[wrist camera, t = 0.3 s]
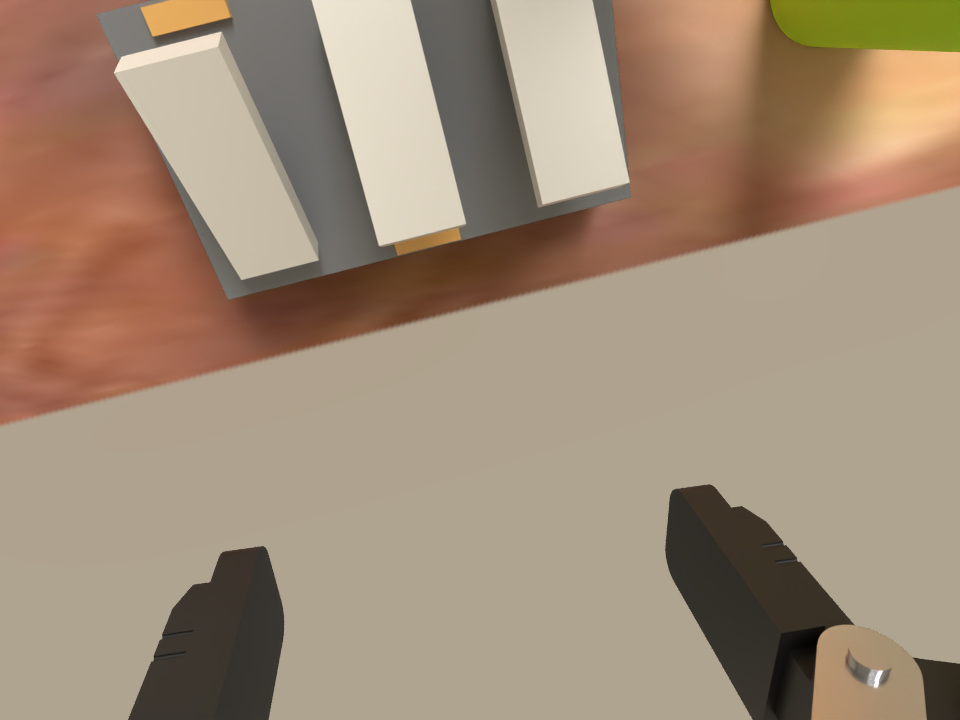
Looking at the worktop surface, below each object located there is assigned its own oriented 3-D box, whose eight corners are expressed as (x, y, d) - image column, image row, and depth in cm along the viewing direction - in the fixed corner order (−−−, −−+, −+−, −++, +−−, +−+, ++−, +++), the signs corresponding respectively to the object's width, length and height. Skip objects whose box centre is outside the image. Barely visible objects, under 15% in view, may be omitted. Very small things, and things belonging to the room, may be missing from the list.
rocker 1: (221, 31, 19) (218, 46, 18) (317, 242, 25) (318, 260, 25) (121, 56, 19) (113, 72, 18) (243, 261, 25) (241, 279, 25)
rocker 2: (406, -10, 22) (404, -26, 20) (465, 226, 23) (466, 223, 22) (318, 12, 22) (310, -3, 20) (382, 247, 23) (378, 245, 22)
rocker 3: (571, -52, 22) (578, -70, 20) (620, 186, 23) (629, 182, 22) (483, -29, 22) (485, -47, 20) (537, 207, 23) (542, 204, 22)
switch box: (570, -98, 25) (613, -129, 20) (603, 178, 30) (642, 205, 25) (135, 11, 24) (74, 6, 20) (247, 268, 30) (220, 312, 25)
